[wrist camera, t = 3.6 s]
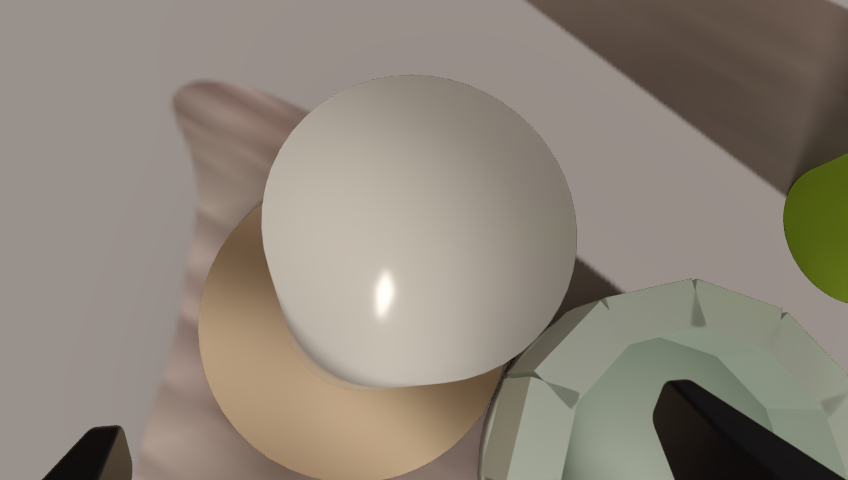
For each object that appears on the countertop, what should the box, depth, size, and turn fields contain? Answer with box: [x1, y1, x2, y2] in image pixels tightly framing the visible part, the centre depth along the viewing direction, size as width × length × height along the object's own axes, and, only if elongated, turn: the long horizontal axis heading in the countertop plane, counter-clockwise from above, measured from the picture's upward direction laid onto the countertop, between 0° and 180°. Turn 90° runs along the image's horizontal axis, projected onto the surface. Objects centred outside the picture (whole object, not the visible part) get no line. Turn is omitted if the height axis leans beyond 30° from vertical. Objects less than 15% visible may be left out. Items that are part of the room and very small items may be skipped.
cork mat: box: [198, 203, 504, 480], centre depth 20 cm, size 10×10×1 cm
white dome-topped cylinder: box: [261, 75, 577, 391], centre depth 14 cm, size 5×5×12 cm
